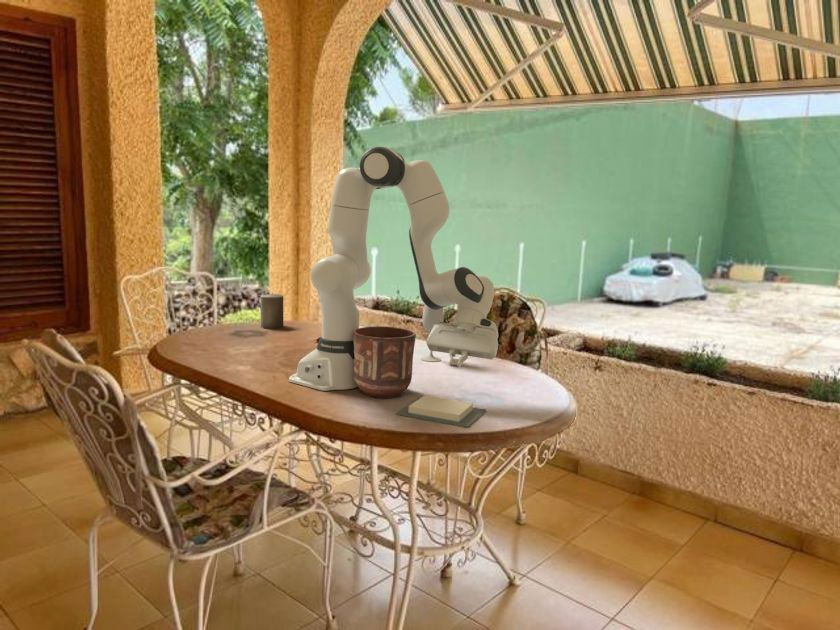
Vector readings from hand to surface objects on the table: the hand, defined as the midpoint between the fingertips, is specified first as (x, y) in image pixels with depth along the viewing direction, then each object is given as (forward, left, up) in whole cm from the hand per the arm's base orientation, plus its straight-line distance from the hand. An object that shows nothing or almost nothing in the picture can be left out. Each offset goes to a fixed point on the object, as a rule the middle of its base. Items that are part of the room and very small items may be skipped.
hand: (454, 365), depth 171 cm
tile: (0, -3, -10) cm, 10 cm away
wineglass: (-25, +45, -11) cm, 53 cm away
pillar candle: (-106, +61, -11) cm, 123 cm away
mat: (0, -8, -11) cm, 14 cm away
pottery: (-22, 0, -11) cm, 25 cm away
